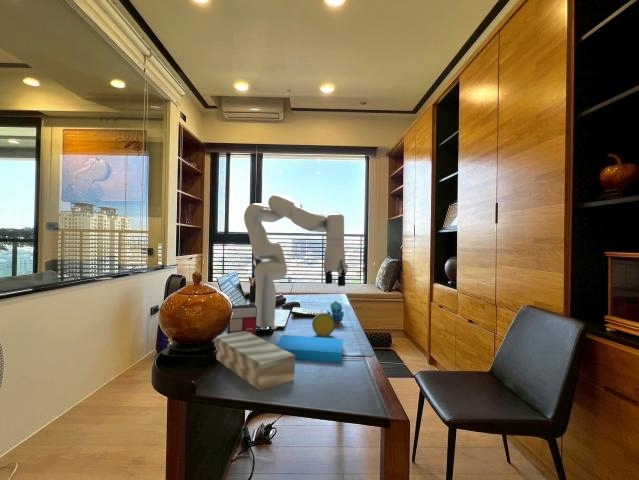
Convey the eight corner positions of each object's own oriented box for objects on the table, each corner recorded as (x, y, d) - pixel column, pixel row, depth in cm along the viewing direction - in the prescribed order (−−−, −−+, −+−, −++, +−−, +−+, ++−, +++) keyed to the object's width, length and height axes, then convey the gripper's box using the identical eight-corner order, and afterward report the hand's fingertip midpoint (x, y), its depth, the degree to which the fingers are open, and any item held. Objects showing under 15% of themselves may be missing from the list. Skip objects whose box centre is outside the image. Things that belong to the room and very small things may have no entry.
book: (281, 334, 130) (343, 337, 128) (281, 345, 130) (342, 348, 128) (272, 348, 113) (342, 352, 111) (272, 361, 113) (342, 364, 111)
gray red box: (228, 346, 124) (229, 308, 124) (226, 342, 128) (228, 305, 128) (256, 343, 129) (257, 306, 129) (253, 340, 133) (255, 304, 133)
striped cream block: (214, 357, 112) (214, 336, 112) (244, 350, 120) (245, 330, 120) (259, 390, 89) (260, 364, 89) (294, 379, 97) (295, 355, 97)
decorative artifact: (312, 336, 141) (313, 313, 141) (311, 331, 148) (311, 310, 148) (334, 336, 142) (335, 314, 142) (332, 332, 149) (333, 310, 149)
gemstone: (325, 323, 165) (326, 300, 165) (342, 323, 166) (343, 300, 166) (327, 327, 158) (328, 302, 158) (345, 327, 159) (346, 303, 159)
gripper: (317, 243, 138) (316, 283, 138) (338, 243, 123) (338, 287, 123) (331, 243, 142) (331, 282, 142) (354, 243, 127) (354, 286, 127)
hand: (334, 284), depth 132 cm, fingers open, 9 cm apart
